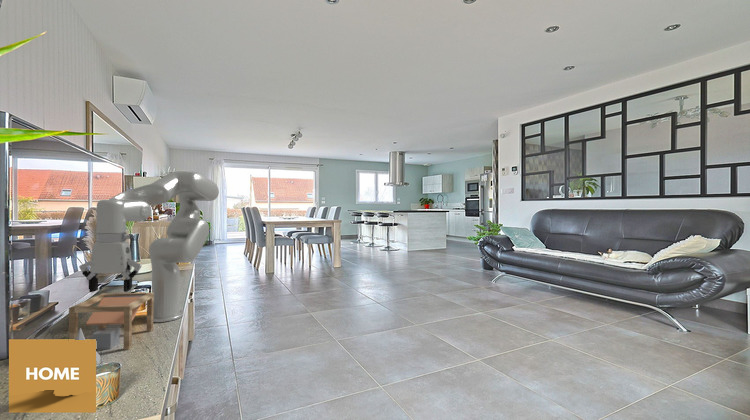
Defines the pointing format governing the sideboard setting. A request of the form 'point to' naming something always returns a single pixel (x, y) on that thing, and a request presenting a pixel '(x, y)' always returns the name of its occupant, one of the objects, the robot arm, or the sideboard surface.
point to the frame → (127, 310)
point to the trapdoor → (112, 317)
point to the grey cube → (107, 338)
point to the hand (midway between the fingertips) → (110, 291)
